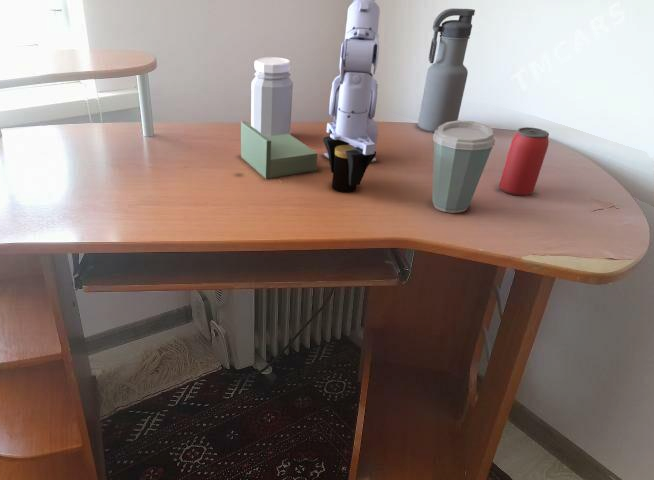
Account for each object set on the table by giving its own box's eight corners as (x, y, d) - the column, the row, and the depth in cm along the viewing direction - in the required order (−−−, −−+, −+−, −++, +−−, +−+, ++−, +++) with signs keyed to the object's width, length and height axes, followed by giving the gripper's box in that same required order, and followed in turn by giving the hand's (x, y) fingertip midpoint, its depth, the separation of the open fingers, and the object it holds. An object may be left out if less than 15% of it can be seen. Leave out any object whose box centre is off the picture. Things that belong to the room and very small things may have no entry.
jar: (290, 144, 132) (294, 65, 122) (250, 143, 132) (251, 64, 122) (289, 132, 140) (293, 56, 130) (251, 131, 140) (252, 56, 130)
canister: (348, 181, 113) (352, 143, 109) (361, 190, 110) (367, 151, 105) (326, 184, 112) (330, 146, 107) (339, 194, 108) (343, 155, 103)
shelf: (288, 150, 128) (289, 116, 124) (316, 171, 118) (319, 134, 113) (240, 156, 124) (240, 121, 120) (265, 178, 114) (266, 141, 109)
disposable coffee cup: (469, 223, 98) (490, 141, 89) (411, 209, 103) (426, 129, 94) (483, 203, 105) (504, 125, 97) (428, 190, 110) (444, 115, 101)
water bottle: (417, 132, 141) (439, 11, 125) (414, 121, 149) (434, 6, 133) (457, 134, 140) (485, 12, 124) (452, 123, 148) (478, 7, 132)
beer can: (531, 186, 112) (550, 128, 106) (533, 199, 107) (553, 138, 100) (497, 182, 114) (514, 124, 107) (498, 194, 109) (515, 134, 102)
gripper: (315, 101, 106) (310, 168, 114) (355, 122, 95) (346, 194, 103) (346, 98, 108) (339, 164, 116) (389, 118, 97) (378, 189, 105)
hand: (345, 178), depth 109 cm, fingers open, 7 cm apart
